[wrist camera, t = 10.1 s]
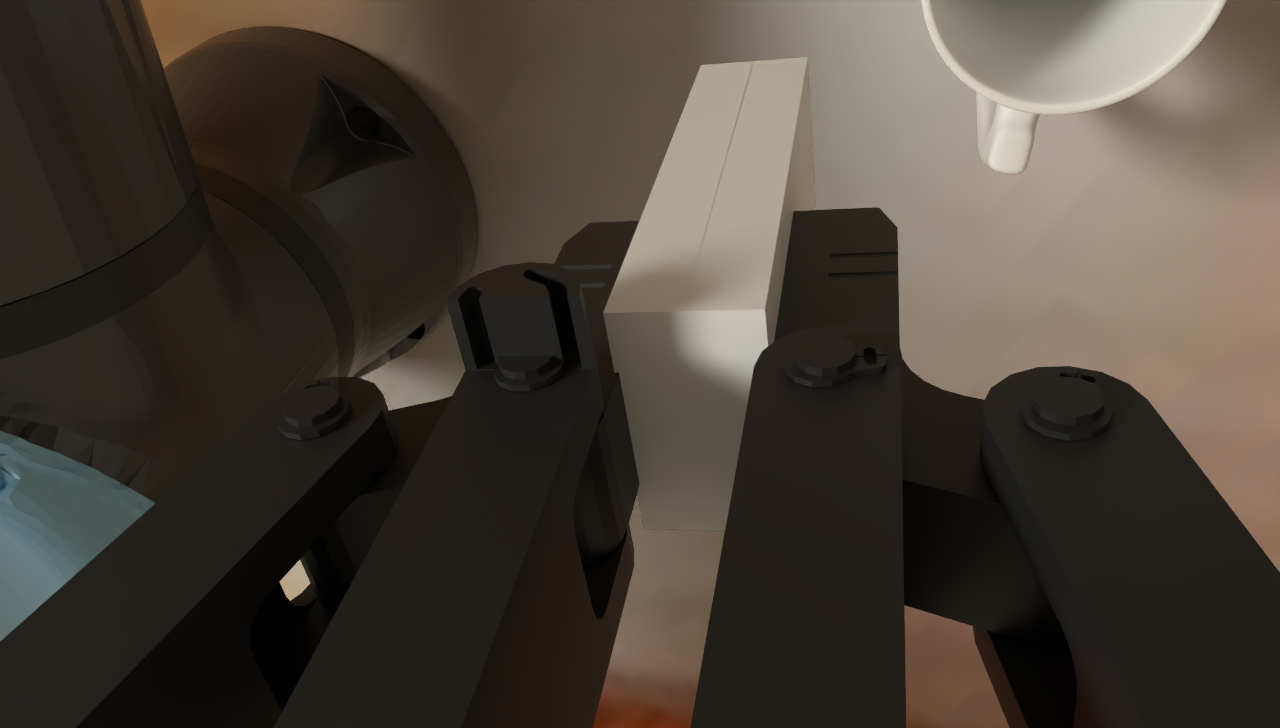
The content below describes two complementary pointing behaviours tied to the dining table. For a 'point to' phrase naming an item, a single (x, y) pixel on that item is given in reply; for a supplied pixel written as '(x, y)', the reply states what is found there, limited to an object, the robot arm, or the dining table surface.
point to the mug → (1058, 58)
